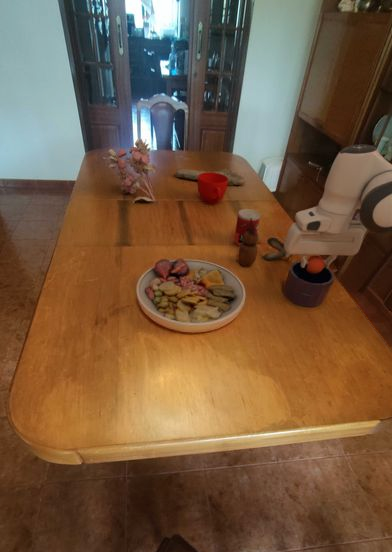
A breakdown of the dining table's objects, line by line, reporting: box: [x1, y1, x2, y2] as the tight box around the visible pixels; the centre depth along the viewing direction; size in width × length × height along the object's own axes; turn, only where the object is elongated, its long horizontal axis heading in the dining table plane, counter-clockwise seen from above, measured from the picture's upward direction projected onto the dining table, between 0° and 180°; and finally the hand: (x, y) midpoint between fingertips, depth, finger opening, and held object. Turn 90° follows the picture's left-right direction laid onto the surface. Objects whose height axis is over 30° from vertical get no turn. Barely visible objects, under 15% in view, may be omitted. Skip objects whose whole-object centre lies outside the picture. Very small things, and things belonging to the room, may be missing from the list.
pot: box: [282, 259, 335, 309], centre depth 94 cm, size 13×13×8 cm
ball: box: [306, 255, 325, 274], centre depth 90 cm, size 5×5×5 cm
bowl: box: [135, 258, 247, 333], centre depth 88 cm, size 30×30×8 cm
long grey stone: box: [175, 168, 246, 187], centre depth 158 cm, size 35×5×10 cm
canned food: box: [233, 208, 261, 248], centre depth 113 cm, size 8×8×11 cm
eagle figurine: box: [262, 237, 292, 261], centre depth 109 cm, size 8×7×9 cm
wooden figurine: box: [238, 218, 259, 268], centre depth 102 cm, size 7×6×15 cm
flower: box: [102, 138, 159, 204], centre depth 132 cm, size 20×22×25 cm
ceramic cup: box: [197, 171, 228, 206], centre depth 136 cm, size 13×17×10 cm
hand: (313, 266), depth 90 cm, fingers closed on ball, 5 cm apart
